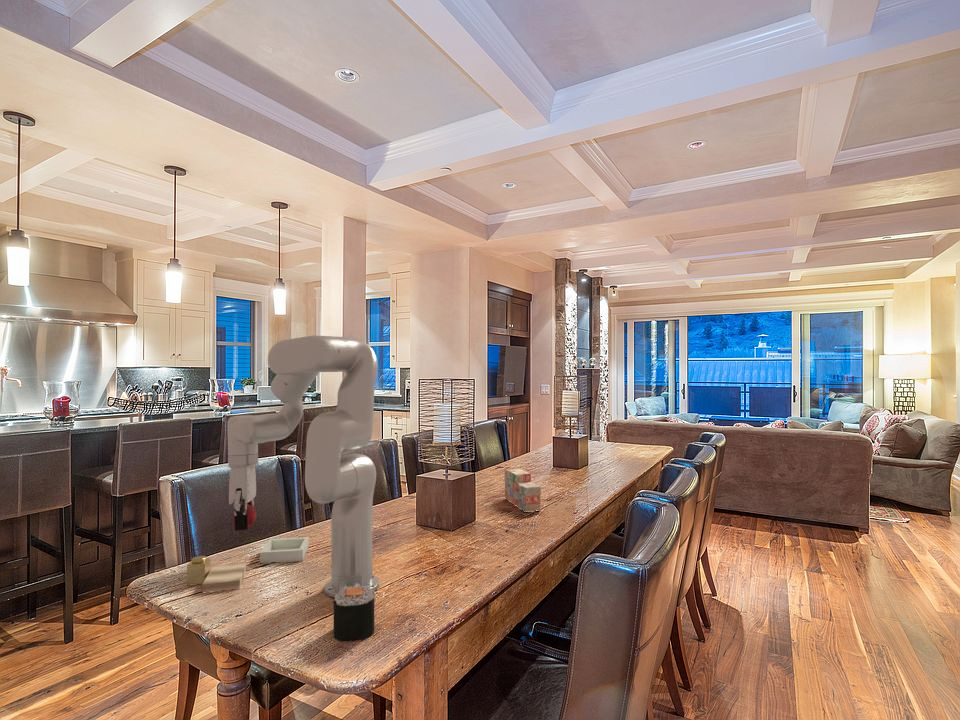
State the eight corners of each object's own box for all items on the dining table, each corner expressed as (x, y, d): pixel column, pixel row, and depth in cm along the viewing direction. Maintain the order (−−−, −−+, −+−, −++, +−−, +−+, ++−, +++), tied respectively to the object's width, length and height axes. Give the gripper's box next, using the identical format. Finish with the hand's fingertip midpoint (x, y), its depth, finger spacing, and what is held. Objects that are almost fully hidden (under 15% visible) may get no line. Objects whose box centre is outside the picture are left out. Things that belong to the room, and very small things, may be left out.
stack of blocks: (541, 512, 188) (540, 478, 188) (525, 513, 186) (524, 479, 186) (519, 498, 208) (519, 467, 208) (504, 499, 206) (504, 468, 207)
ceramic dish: (302, 561, 141) (302, 549, 141) (259, 563, 139) (259, 552, 139) (308, 547, 152) (308, 537, 152) (269, 549, 150) (269, 539, 150)
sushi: (331, 644, 98) (331, 601, 98) (335, 623, 106) (335, 584, 107) (375, 639, 100) (375, 598, 100) (375, 619, 108) (375, 580, 108)
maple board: (239, 590, 123) (239, 580, 124) (202, 595, 121) (202, 584, 121) (246, 572, 135) (246, 562, 135) (212, 575, 133) (212, 565, 133)
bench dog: (204, 584, 126) (204, 560, 126) (187, 585, 125) (187, 561, 125) (210, 577, 130) (210, 554, 130) (193, 579, 129) (193, 555, 129)
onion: (261, 527, 144) (260, 498, 145) (246, 533, 139) (245, 503, 139) (243, 526, 146) (242, 498, 146) (228, 532, 140) (227, 503, 141)
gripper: (237, 456, 151) (239, 519, 150) (218, 466, 134) (220, 537, 133) (265, 455, 152) (266, 517, 151) (249, 464, 135) (251, 534, 135)
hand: (244, 525), depth 142 cm, fingers closed on onion, 5 cm apart
